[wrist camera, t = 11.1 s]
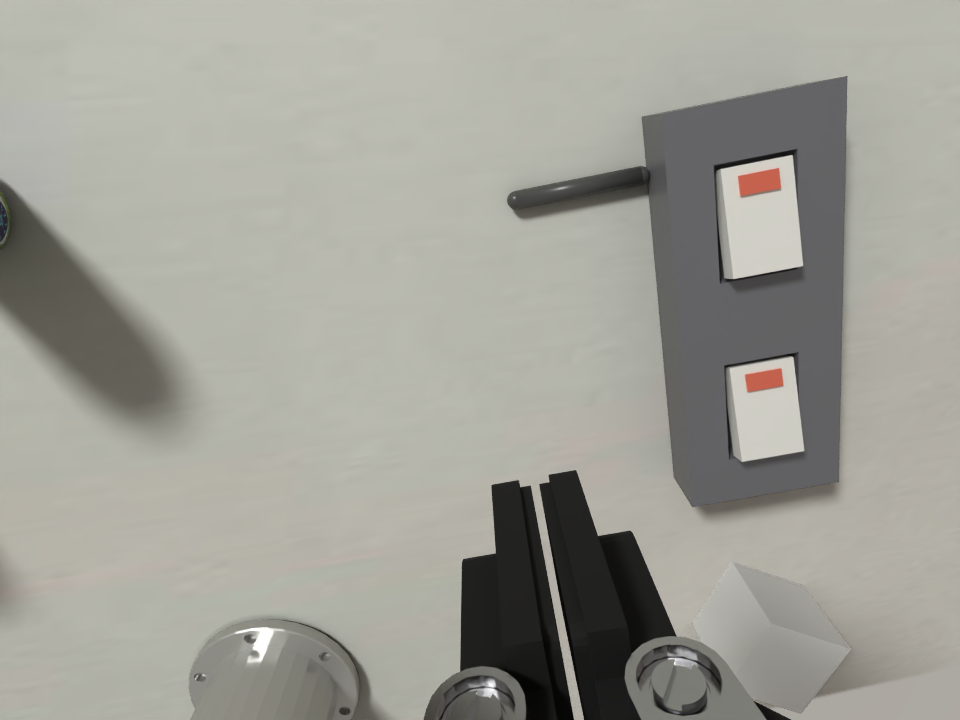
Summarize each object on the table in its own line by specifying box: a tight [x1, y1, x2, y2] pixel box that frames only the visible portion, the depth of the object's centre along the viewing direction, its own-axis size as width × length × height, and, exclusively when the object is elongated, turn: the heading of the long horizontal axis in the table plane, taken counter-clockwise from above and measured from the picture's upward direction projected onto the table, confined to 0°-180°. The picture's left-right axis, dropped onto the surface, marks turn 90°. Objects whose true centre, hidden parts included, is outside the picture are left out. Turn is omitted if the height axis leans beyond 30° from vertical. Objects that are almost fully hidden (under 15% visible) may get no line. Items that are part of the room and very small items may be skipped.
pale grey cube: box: [692, 562, 851, 713], centre depth 41 cm, size 6×6×6 cm
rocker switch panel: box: [507, 76, 847, 507], centre depth 35 cm, size 23×17×4 cm
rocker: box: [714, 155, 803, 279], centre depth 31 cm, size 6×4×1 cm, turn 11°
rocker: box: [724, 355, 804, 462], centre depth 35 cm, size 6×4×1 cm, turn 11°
